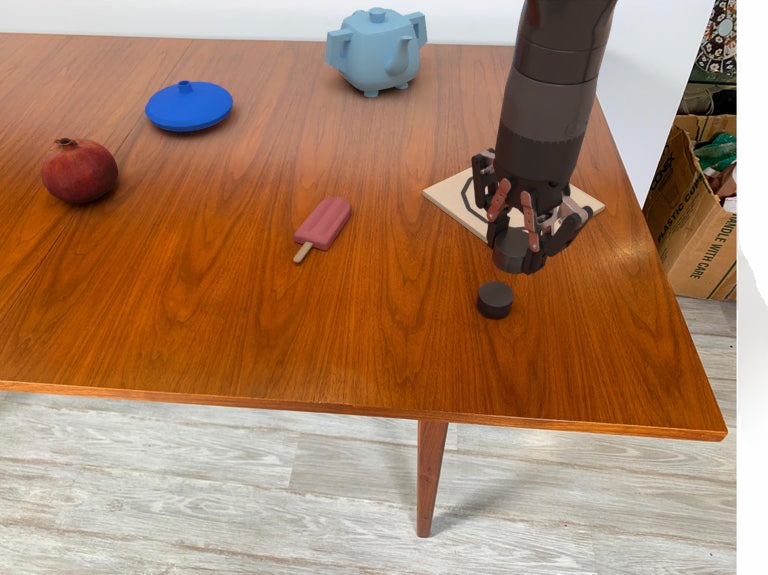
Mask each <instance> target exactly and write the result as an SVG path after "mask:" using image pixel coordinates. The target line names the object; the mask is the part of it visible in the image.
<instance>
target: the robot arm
mask: <svg viewBox="0 0 768 575" xmlns="http://www.w3.org/2000/svg"><path fill="white" fill-rule="evenodd" d="M618 1H619V0H524V1H523V5H522V8H521V12H520V15H519V20H518V24H517V30H516V31H517V32H516V36H515V43H514V49H513V55H512V60H511V64H510V69H509V73H508V76H507V79H506V82H505V86H504V90H503V91H504V92H503V97H502V104H501V110H500V115H499V121H498V122H499V123H498V129H497V133H496V141H495V145H494V146H495V147H494V148H493V147H489V148H487V149H484V150H483V151H481V152H478V153H477V154H475V155H473V156H471V158H470V162H471V167H472V174H473V184H474V195H475V204H476V206H477V207H478V208H479V209H482V208H484V210H485V211H486V212H487V214H486V216H487V219H488V220H489V222H488V228H487V234H486V238H487V241H488V244H487V243H486V244H487V247H488V248H489V249H490V250H492V251H493V247H494V242H495V238H496V236H497V235H498V234H499V233H500V232H502V231H505V230H508V227H509V222H510V217H509V216H507V214H508V213H510V211H511V210H512V208H516V209H518V210H519V211H520V212H521V213H522V214H523V215H524V226H525V230H527V231H528V233H529V247H528V248H527V252H526V256H525V260H524V264H523V268H522V272H523V273H522V274H525V275H526V276H531V275H532V274H533V275H534V274H536V273H537V272H539V271H540V270H542V269H543V268H545V266H546V263H547V259H548V258H553V257H555V256H556V255H558V254H559V253H561V252H563V251H564V250H566V249H567V248H568V247H570V246H571V244H572V243H573V242H574V241H575V239H576V238H577V237H578V236H579V234H580V233H581V232H582V231H583V229H584V228H585V227H586V225H587V224H588V223H589V222H590V220H591V219H592V218H593V217H594V216H593V210H592V208H591V207H590V206H584V207H582V208H581V207H580V206H579V205H578V204H577V203H576V202H575V201H574V200H573V199H572V198H571V197H570V195H571V190H570V184H571V182H570V181H571V177H572V175H573V173H574V171H575V169H576V167H577V164H578V161H579V157H580V152H581V150H582V146H583V142H584V138H585V136H586V132H587V130H588V125H589V123H590V122H589V121H590V118H591V116H592V115H591V114H592V110H593V107H594V104H595V100H596V95H597V88H598V79H599V74H600V70H601V67H602V64H603V60H604V56H605V53H606V52H605V51H606V49H607V46H608V42H609V38H610V35H611V30H612V26H613V20H614V16H615V15H614V14H615V10H616V6H617V4H618ZM498 183H499V186H498ZM486 186H487V188H488V193H487V194H485V188H486ZM558 206H559V207H560V209H561V216H560V220H559V221H558V223H559V224H560V225H561V226H560V227H559V228H558V230H557V231H556V233H555V234H554V224H555V222H556V220H557V207H558ZM592 216H593V217H592ZM541 231H542V235H541Z"/></svg>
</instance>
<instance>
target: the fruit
mask: <svg viewBox="0 0 768 575" xmlns="http://www.w3.org/2000/svg"><path fill="white" fill-rule="evenodd" d="M53 143H54V145H52V146H51V147H50V149H49V150H48V151H47V153H46V154H45V155H44V156H43V157H42V158H43V159H42V161H41V165H40V176H41V183H42V185H43V186H44V188H45V189H46V190H47V191H48V193H49V194H50V195H51V196H53V197H54V198H56V199H58V200H60V201H61V200H62V201H65V202H67V203H70V204H71V203H72V204H87V203H90V202H92V201H95V200H98V199H99V198H101V197H103V196H104V195H105V194H107V193H108V192H109V191H111V190H113V188H114V187H115V185H116V182H117V180H118V177H119V167H118V164H117V161H116V159H115V158H114V156H113V154H112V153H111V151H109V149H108V148H106V147H105V146H103V144H101V143H99V142H97V141H95V140H92V139H88V138H74V139H73V138H69V137H61V138H60V139H59V138H58V139H55V140H53Z"/></svg>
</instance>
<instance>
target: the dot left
mask: <svg viewBox="0 0 768 575" xmlns="http://www.w3.org/2000/svg"><path fill="white" fill-rule="evenodd" d="M528 247H529V233H527V232H525V231H522V230H517V229H509V230H505V231H502V232H500V233H499V234H498V235H497V236H496V238H495V242H494V247H493V250H492V253H491V261H492V264H493V265H494V266H495V267H496V268H497V269H498V270H499V271H501V272H504V273H507V274H511V275H521V274H524V273H523V272H522V268H523V264H524V260H525V256H526V252H527V248H528Z"/></svg>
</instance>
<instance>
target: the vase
mask: <svg viewBox="0 0 768 575" xmlns="http://www.w3.org/2000/svg"><path fill="white" fill-rule="evenodd" d="M233 104H234V100H233V96H232V94H231V93H230V92H229V91H228V90H227V89H225V87H223V86H221V85H219V84H216V83H213V82H207V81H190V80H187V79H183V80H180V81H178V82H177V83H176V84H172V85H168V86H166V87H164V88H161V89H160V90H158V91H156V92H155V93H153V94H152V95H151V96H150V97H149V99H148V101H147V102H146V104H145V107H144V114H145V115H146V117H147V118H148V120H149V121H150V122H151V124H152V125H154V126H155V127H156V128H160V129H162V130H165V131H171V132H194V131H199V130H203V129H207V128H209V127H212V126H214V125H216V124H219V123H221V122H222V121H223V120H225V119H226V118H227V117H228V116H229V115H230V113H231V111H232V109H233Z"/></svg>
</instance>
